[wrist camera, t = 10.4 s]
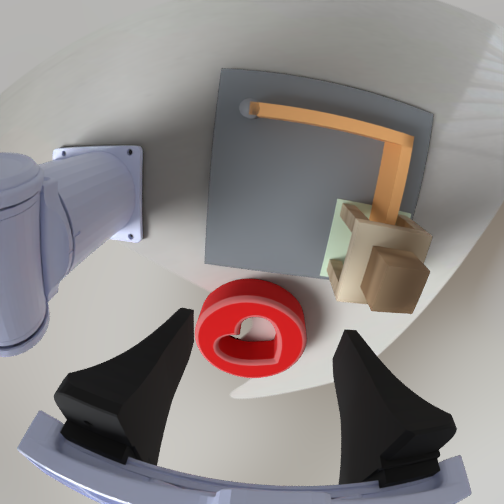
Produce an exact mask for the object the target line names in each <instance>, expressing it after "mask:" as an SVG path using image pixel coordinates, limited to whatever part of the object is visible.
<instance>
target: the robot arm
mask: <svg viewBox="0 0 504 504" xmlns="http://www.w3.org/2000/svg"><path fill="white" fill-rule="evenodd" d="M130 149H131V150H132V152H133V153H132V155H130V154H129V150H130ZM64 152H66V155H65V154H64ZM142 162H143V149H142V148H141V147H140V146H85V147H67V148H57V149H55V150H54V151H53V161H49V162H46V163H43V164H39V165H38V164H37V163H36V162H35V161H34V160H33V159H32V158H31V157H29V156H26V155H23V154H18V153H6V152H2V153H0V357H10V356H14V355H19V354H21V353H24V352H26V351H27V350H29V349H31V348H32V347H33V346H35V345H36V344H37V343H38V342H39V341H40V340H41V339H42V337H43V336H44V334H45V332H46V330H47V328H48V324H49V317H50V316H49V315H50V313H49V307H48V301H49V300H50V299H51V298H52V297H53V296H54V295H55V294H56V293H57V292H58V286H59V283H60V281H61V280H62V279H63V278H64V277H65V276H66V275H67V274H69V273H70V271H72V270H73V269H74V268H75V267H76V266H78V265H79V264H80V263H81V262H82V261H83V260H84V259H86V258H87V257H88V256H89V255H90V254H91V253H92V252H94V251H95V250H96V249H97V248H99V247H100V246H101V245H102V244H103V243H105V242H106V241H107V240H108V239H114V240H121V241H128V242H135V243H138V242H140V241H141V240H142V239H143V227H142ZM130 234H132V235H133V238H132V237H131V236H130ZM193 314H194V310H191V309H186V308H180V309H179V310H178V311H177V312H175V313H174V314H173V315H172V316H171V317H170V318H169V319H168V320H167V321H166V322H165V323H164V324H162V325H161V326H160V327H159V328H158V329H157V330H155V331H154V332H153V333H152V334H150V335H149V336H148V337H146V338H145V339H144V340H142V341H141V342H140V343H138V344H137V345H135V346H134V347H132V348H131V349H129V350H127V351H126V352H124V353H122V354H120V355H118V356H116V357H115V358H113V359H110V360H108V361H106V362H103V363H101V364H98V365H96V366H93V367H90V368H87V369H84V370H80V371H76V372H72V373H69V374H68V375H67V376H66V377H65V379H64V380H63V381H62V383H61V385H60V386H59V388H58V390H57V391H56V393H55V394H54V399H55V402H56V404H57V406H58V407H59V409H60V410H61V412H62V413H63V415H64V416H65V417H66V419H67V421H66V422H65V424H63V423H62V422H60V421H59V420H57V419H55V418H53V417H52V416H50V415H48V414H46V413H45V412H43V411H39V412H38V414H37V415H36V417H35V418H34V420H33V422H32V423H31V425H30V427H29V429H28V430H27V432H26V433H25V435H24V437H23V439H22V440H21V442H20V444H19V446H18V447H17V449H18V451H19V452H20V453H21V454H23V455H24V456H25V457H26V458H27V459H28V460H29V461H31V462H32V463H33V464H34V465H35V466H36V467H38V468H39V469H40V470H41V471H43V472H44V473H46V474H47V475H49V476H50V477H52V478H54V479H55V480H58V481H59V482H61V483H62V484H64V485H66V486H68V487H69V488H71V489H73V490H75V491H77V492H79V493H81V494H83V495H84V496H86V497H88V498H90V499H92V500H94V501H97V502H99V503H101V504H455V503H457V502H459V501H461V500H463V499H464V498H466V497H468V496H470V495H471V489H470V485H469V482H468V478H467V474H466V471H465V467H464V464H463V461H462V457H461V455H458V456H455V457H452V458H449V459H446V460H443V461H442V462H439V463H438V460H437V458H438V457H439V456H440V452H439V449H440V448H441V447H443V446H444V445H445V444H446V443H447V442H448V441H449V440H450V439H451V438H452V437H453V436H454V434H455V433H456V430H457V428H456V426H455V423H454V420H453V418H452V415H451V414H449V413H447V412H445V411H443V410H441V409H439V408H437V407H435V406H433V405H432V404H430V403H428V402H427V401H425V400H424V399H422V398H421V397H419V396H418V395H417V394H415V393H414V392H413V391H411V390H410V389H409V388H408V387H406V386H405V385H404V384H403V383H402V382H401V381H400V380H399V379H397V378H396V377H395V376H394V375H393V374H392V373H391V371H390V370H389V369H388V368H387V367H386V366H385V365H384V364H383V363H382V362H381V360H380V359H379V358H378V357H377V356H376V354H375V353H374V352H373V351H372V349H371V348H370V347H369V346H368V344H367V343H366V342H365V341H364V339H363V338H362V337H361V336H360V334H359V333H358V332H357V331H356V330H344V332H343V335H342V337H341V340H340V342H339V345H338V347H337V350H336V352H335V354H334V357H333V377H334V383H335V388H336V394H337V399H338V405H339V411H340V417H341V437H342V438H341V467H340V478H339V485H327V486H275V485H259V484H247V483H239V482H232V481H224V480H218V479H212V478H206V477H201V476H196V475H191V474H187V473H182V472H178V471H174V470H170V469H166V468H162V467H159V466H157V462H158V457H159V452H160V447H161V442H162V438H163V433H164V429H165V425H166V421H167V417H168V414H169V410H170V406H171V403H172V399H173V397H174V394H175V392H176V389H177V387H178V384H179V382H180V380H181V377H182V375H183V373H184V370H185V367H186V365H187V363H188V360H189V357H190V354H191V350H192V347H193V343H194V317H193V316H194V315H193Z"/></svg>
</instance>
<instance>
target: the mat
mask: <svg viewBox="0 0 504 504" xmlns="http://www.w3.org/2000/svg"><path fill="white" fill-rule="evenodd" d="M247 98H252V99H255V100H256V101H257V102H260V103H269V104H277V105H284V106H291V107H297V108H303V109H309V110H314V111H319V112H324V113H329V114H334V115H339V116H343V117H347V118H352V119H356V120H360V121H364V122H367V123H371V124H375V125H378V126H382V127H385V128H389V129H392V130H395V131H398V132H402V133H405V134H408V135H411V136H414V142H413V148H412V153H411V159H410V164H409V169H408V174H407V179H406V183H405V188H404V192H403V196H402V200H401V204H400V208H399V211H402V212H407V213H411V217H410V219H411V220H412V219H413V215H414V212H415V208H416V204H417V200H418V196H419V192H420V188H421V183H422V179H423V174H424V169H425V164H426V159H427V154H428V148H429V142H430V136H431V129H432V122H433V114H431V113H429V112H426V111H424V110H421V109H419V108H416V107H413V106H411V105H408V104H405V103H402V102H399V101H396V100H393V99H390V98H387V97H384V96H381V95H378V94H374V93H371V92H367V91H364V90H360V89H356V88H352V87H348V86H344V85H340V84H336V83H331V82H327V81H322V80H317V79H312V78H306V77H300V76H294V75H287V74H280V73H273V72H264V71H254V70H242V69H225V68H221V76H220V83H219V91H218V100H217V108H216V117H215V127H214V136H213V147H212V158H211V169H210V181H209V195H208V209H207V225H206V243H205V264H211V265H219V266H226V267H233V268H241V269H248V270H256V271H263V272H271V273H279V274H287V275H295V276H303V277H311V278H319V279H328V280H330V279H329V277H325V276H320V272H321V269H322V265H323V261H324V256H325V252H326V248H327V244H328V240H329V235H330V231H331V227H332V222H333V217H334V213H335V208H336V203H337V198H338V199H343V200H349V201H354V202H359V203H364V204H369V205H372V203H373V198H374V194H375V189H376V185H377V180H378V175H379V170H380V165H381V160H382V154H383V149H384V143H385V142H383V141H380V140H376V139H372V138H368V137H364V136H360V135H356V134H352V133H348V132H343V131H339V130H334V129H329V128H324V127H319V126H314V125H308V124H302V123H296V122H290V121H283V120H276V119H268V118H260V117H258V118H257V119H249V118H247V117H245V116H243V115H242V114H241V113H240V110H239V106H240V103H241V102H242V101H243V100H244V99H247Z"/></svg>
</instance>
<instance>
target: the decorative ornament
mask: <svg viewBox="0 0 504 504" xmlns="http://www.w3.org/2000/svg"><path fill="white" fill-rule="evenodd" d="M250 317H261V318H265V319H267V320H269V321H270V322H271V323H272V324H273V326H274V328H275V330H276V335H275V339H274V340H271V341H241V340H239V338H235V337H233V336H231V335H239V334H240V329H241V323H242V322H243V321H244V320H245V319H247V318H250ZM195 339H196V343H197V346H198V348H199V350H200V352H201V353H202V355H203V356H204V357H205V358H206V359H207V360H208V361H209V362H210V363H211V364H212V365H213V366H215V367H217V368H218V369H220V370H222V371H224V372H226V373H229V374H232V375H235V376H240V377H246V378H261V377H268V376H272V375H276V374H278V373H281V372H283V371H285V370H287V369H289V368H290V367H291V366H292V365H293V364H295V363H296V362H297V361H298V359H299V358H300V357H301V355H302V354H303V352H304V349H305V346H306V342H307V335H306V327H305V320H304V314H303V310H302V307H301V305H300V303H299V302H298V301H297V299H296V298H295V297H294V296H293V295H292V294H291V293H290V292H288V291H287V290H285V289H284V288H282V287H281V286H279V285H277V284H274V283H271V282H268V281H264V280H259V279H239V280H235V281H231V282H228V283H226V284H224V285H222V286H220V287H219V288H217V289H216V290H214V291H213V292H211V293H210V294H209V295H208V297H207V298H206V300H205V302H204V304H203V307H202V310H201V312H200V315H199V318H198V321H197V324H196V328H195Z"/></svg>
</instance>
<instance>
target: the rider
mask: <svg viewBox="0 0 504 504" xmlns="http://www.w3.org/2000/svg"><path fill="white" fill-rule="evenodd" d="M340 217H341V218H342V220H343V221H344V222H345V224H346V225H347V227H348V228H349V230H350V231H351V232H352V235H351V239H350V243H349V247H348V250H347V254H346V258H345V261H344V265H343V264H342V261H338V260H330V259H329V263H328V267H327V273H328V276H329V279H330V282H331V285H332V288H333V291H334V294H335V297H336V300H337V301H339V302H350V303H361V304H368V305H369V307H370V309H371V311H377V312H391V313H408V314H412V313H413V311H414V309H415V307H416V304H417V302H418V300H419V298H420V295H421V293H422V291H423V288H424V286H425V284H426V281H427V279H428V276H429V274H430V271H429V270H428V268H427V267H426V266H425V265H424V261H425V258H426V255H427V252H428V249H429V246H430V243H431V240H432V237H433V236H431V235H430V234H429V233H428V232H427V231H425V230H424V229H423V228H422V227H420V226H419V225H418V224H417V223H415V222H414V221H413V220H411V219H410V218H409V217H408V216H405V215H400V214H398V216H397V220H396V223H395V225H390V224H385V223H380V222H375V221H370V220H369V219H368V218H367V217H366V216H365V215H364V214H363V213H362V212H361V211H360V210H359V209H358V208H357V207H356V206H355V205H351V204H345V203H342V208H341V212H340Z"/></svg>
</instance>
